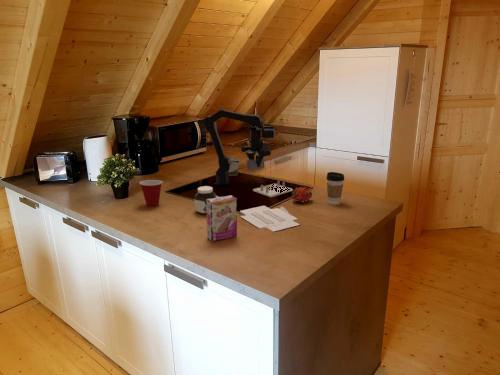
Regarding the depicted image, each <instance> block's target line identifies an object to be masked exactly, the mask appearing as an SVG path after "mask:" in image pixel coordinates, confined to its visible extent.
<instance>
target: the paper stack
mask: <svg viewBox="0 0 500 375" xmlns="http://www.w3.org/2000/svg"><path fill="white" fill-rule="evenodd" d="M239 212H240V213H241V214H243V215H241V216H240V217H239V218H241V219H244V220H245V221H246V222H248V223H250V224H252V225H253V226H255V227H257V228H258V230H260V229H264V228H265V229H268V230H269V231H271V232H272V233H274V232H277V231H281V230H286V229H288V228H292V227H295V226H301V223H298V222H296V220H297V221H298V220H299V219H298V217H295V216H293V215H292V214H290V212H289V211H288V210H287V208H285V207H284V206H283V205H281V206H280V207H276V208H270V207H268V206H266V205H260V206H257V207H251V208H248V209H247V208H246V209H242V210H240V211H239Z"/></svg>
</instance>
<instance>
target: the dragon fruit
mask: <svg viewBox="0 0 500 375" xmlns="http://www.w3.org/2000/svg"><path fill="white" fill-rule="evenodd" d="M291 195H292V196H291V199H293V202H296V203H302V204H304V203H305V202H306V203H308V202H309V201H310V199H311V198H312V196H313V193H312V191H311V190H310V189H308V188H307V187H306V186H304V187H302V186H299V187H295V188H294V189H293V191H291ZM297 200H298V201H297ZM306 200H307V201H306ZM300 201H305V202H300Z"/></svg>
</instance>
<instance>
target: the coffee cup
mask: <svg viewBox="0 0 500 375" xmlns="http://www.w3.org/2000/svg"><path fill="white" fill-rule="evenodd" d="M326 181H327V182H326V185H327V186H326V187H327V188H326V189H327V190H326V191H327V193H326V194H327V204H328V205H331V206H339V205H340V204H341V199H342V195H343V194H342V193H343V188H344V181H345V175H344V173H341V172H336V171H335V172H334V171H329V172H327V174H326ZM328 201H331V202H339V201H340V203H330V202H328Z"/></svg>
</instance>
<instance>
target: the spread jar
mask: <svg viewBox="0 0 500 375" xmlns="http://www.w3.org/2000/svg"><path fill="white" fill-rule="evenodd" d="M218 197H219V196H218V195H217V194H216V193H215V192H214V189H213V187H212V186H209V185H204V186H199V187H198V188H197V193H196V194H195V196H194V208H195V211H196V213H197V214H199V215H202V216H207V205H206V199H211V198H218Z"/></svg>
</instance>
